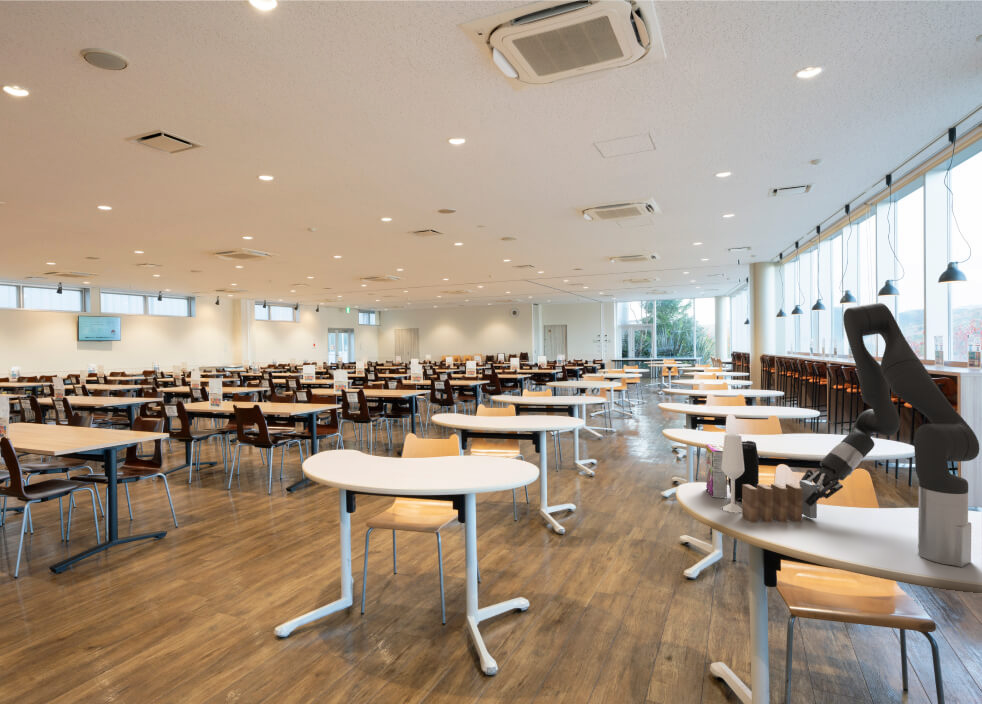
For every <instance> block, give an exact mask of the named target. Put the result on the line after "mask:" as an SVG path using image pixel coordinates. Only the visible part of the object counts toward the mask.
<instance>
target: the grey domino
mask: <svg viewBox="0 0 982 704" xmlns="http://www.w3.org/2000/svg"><path fill="white" fill-rule="evenodd" d="M799 482H800V484H799V487H801V488H802V516H805V517H807V518H808V519H817V517H818V516H817V514H818V508H817V507H818V506H817V505H818V504H817V503H818V500H817V501H816V502H815V503H814V504H813V505H812V506H809V505H808V504H807V503H806V502H805V500H806V499H807V498H808V497H809V496H810V495H811V494H812V493H814V491H815V490H816V489H817V485H816V484H815V483H814V482H812V483H811V482H809V481H807V480H801V479H800V480H799Z"/></svg>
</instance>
